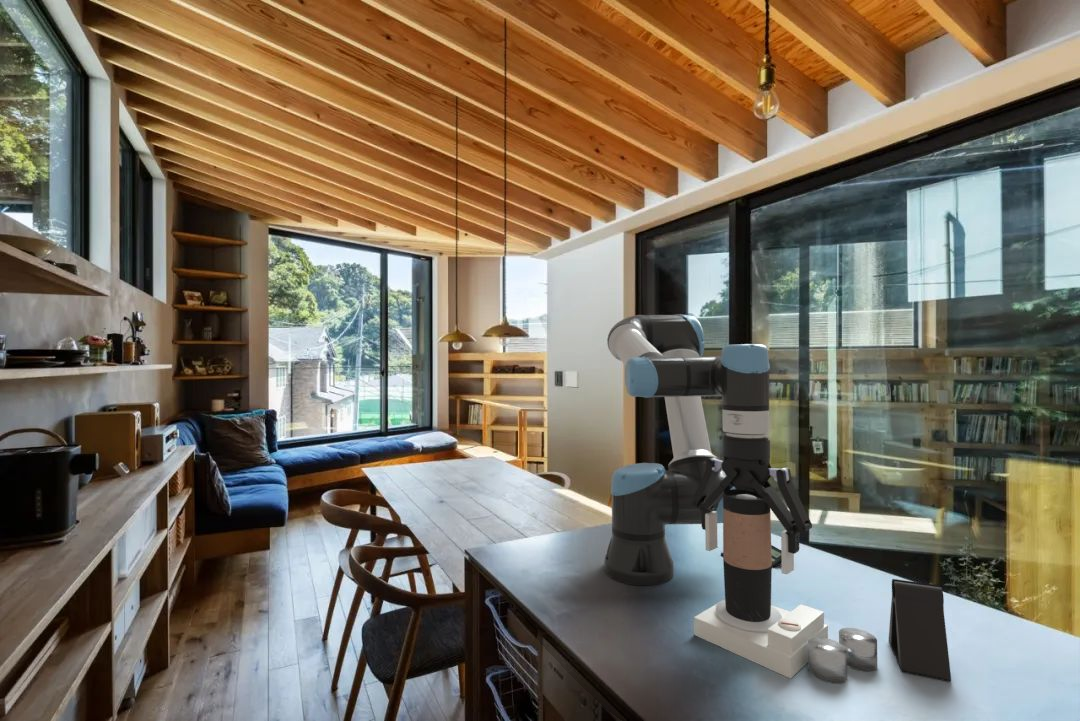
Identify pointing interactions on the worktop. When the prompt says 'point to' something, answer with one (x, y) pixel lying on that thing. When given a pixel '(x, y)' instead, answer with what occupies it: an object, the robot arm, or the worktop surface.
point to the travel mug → (747, 555)
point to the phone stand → (919, 629)
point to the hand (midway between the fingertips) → (747, 559)
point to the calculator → (774, 556)
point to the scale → (764, 635)
